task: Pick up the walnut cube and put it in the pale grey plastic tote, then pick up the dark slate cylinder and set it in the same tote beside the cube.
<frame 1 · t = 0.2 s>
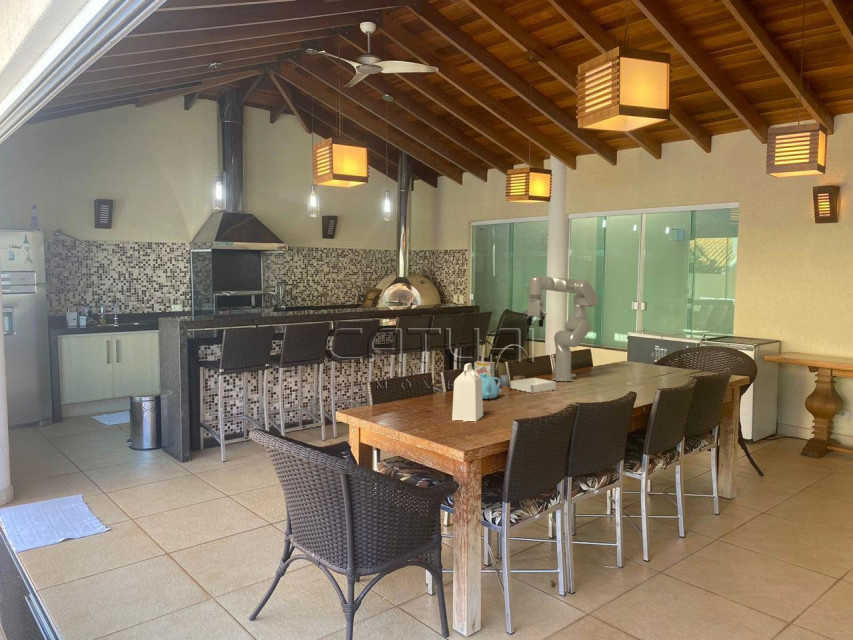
hand: (535, 326, 390), 36 cm above the table, tool pointing down, fingers open, 9 cm apart
slate cylinder: (504, 387, 386), on the table
milk: (467, 418, 305), on the table
walnut cube: (519, 384, 394), on the table
decorative pot: (483, 398, 353), on the table
candy bar box: (484, 390, 377), on the table
tote: (533, 390, 376), on the table
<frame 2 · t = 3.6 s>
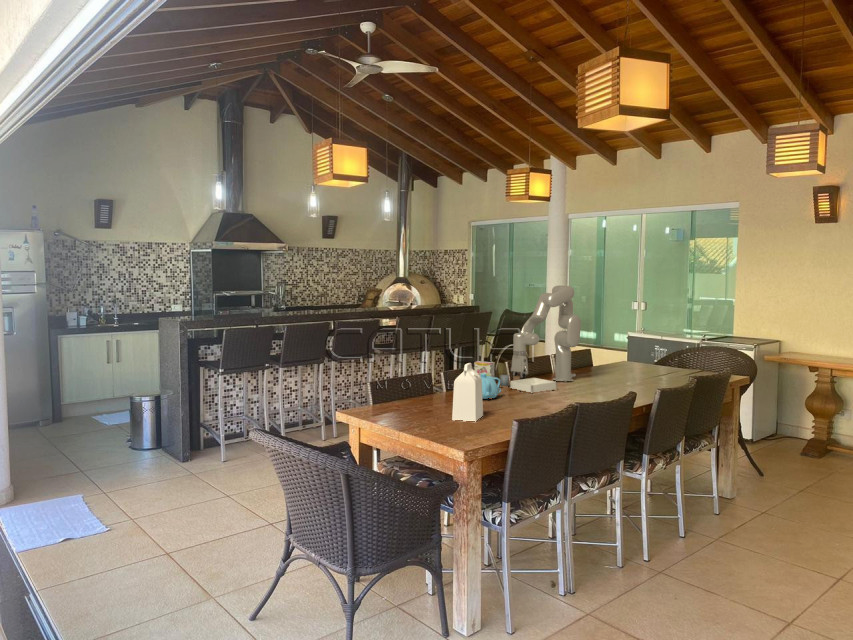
hand: (519, 382, 394), 1 cm above the table, tool pointing down, fingers closed on walnut cube, 5 cm apart
walnut cube: (519, 384, 394), on the table, touching gripper
everything else where it was.
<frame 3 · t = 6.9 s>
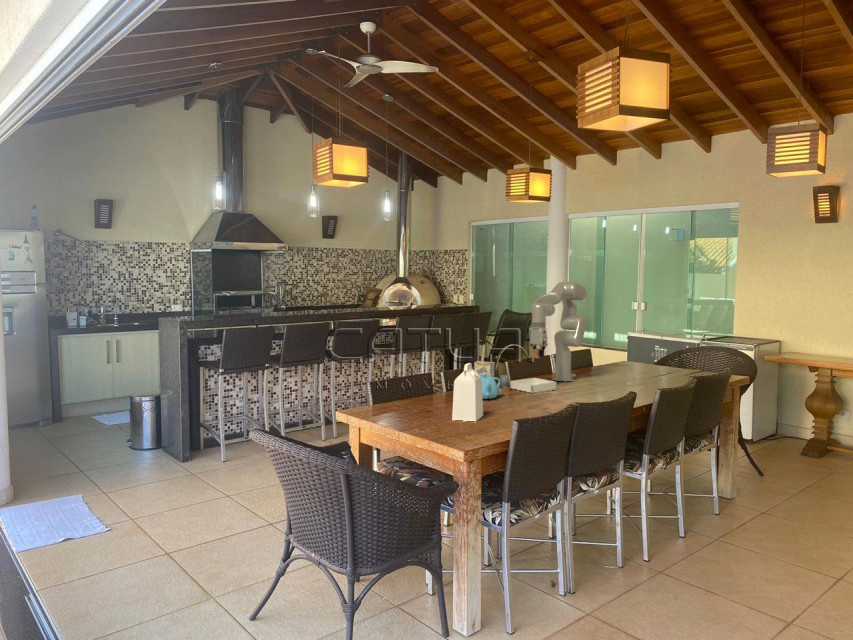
hand: (538, 355, 378), 20 cm above the table, tool pointing down, fingers closed on walnut cube, 4 cm apart
walnut cube: (537, 357, 378), point 18 cm above the table, touching gripper
everything else where it was.
when the fingers open (3 cm above the table, at t = 10.5 s): walnut cube drops 1 cm, resting on tote.
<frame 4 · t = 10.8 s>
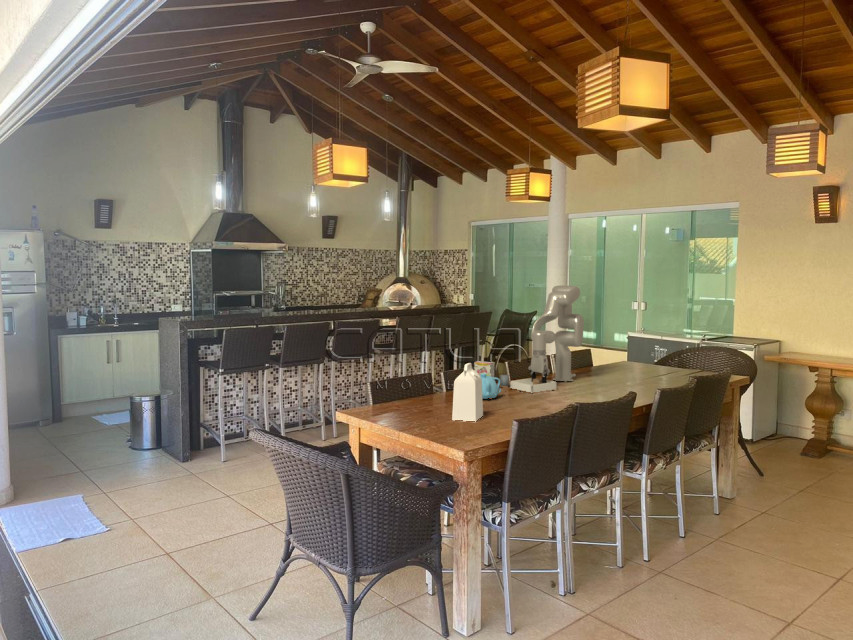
hand: (538, 382, 378), 4 cm above the table, tool pointing down, fingers open, 8 cm apart
walnut cube: (538, 387, 379), point 1 cm above the table, touching tote
everything else where it was.
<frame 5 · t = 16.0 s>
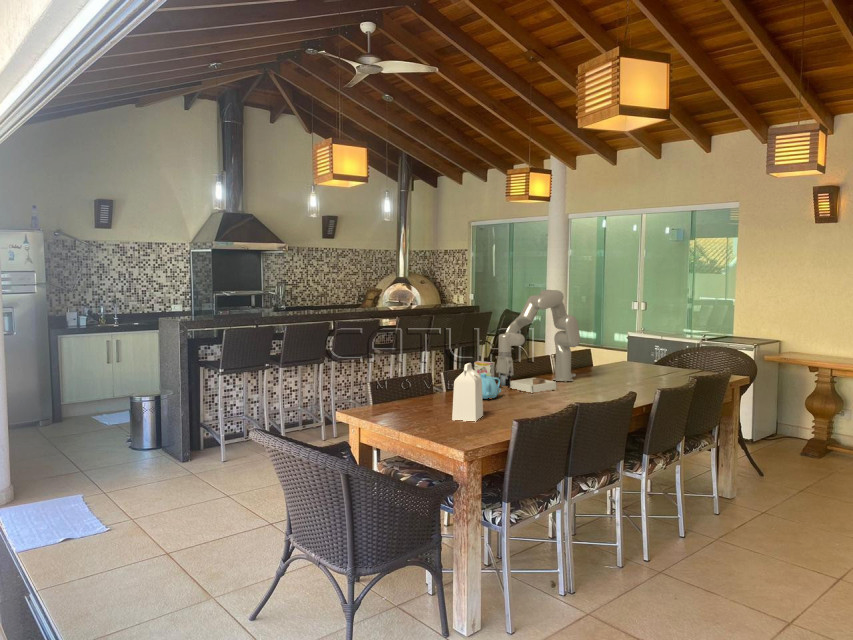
hand: (504, 384, 386), 1 cm above the table, tool pointing down, fingers closed on slate cylinder, 4 cm apart
slate cylinder: (504, 387, 386), on the table, touching gripper
everything else where it was.
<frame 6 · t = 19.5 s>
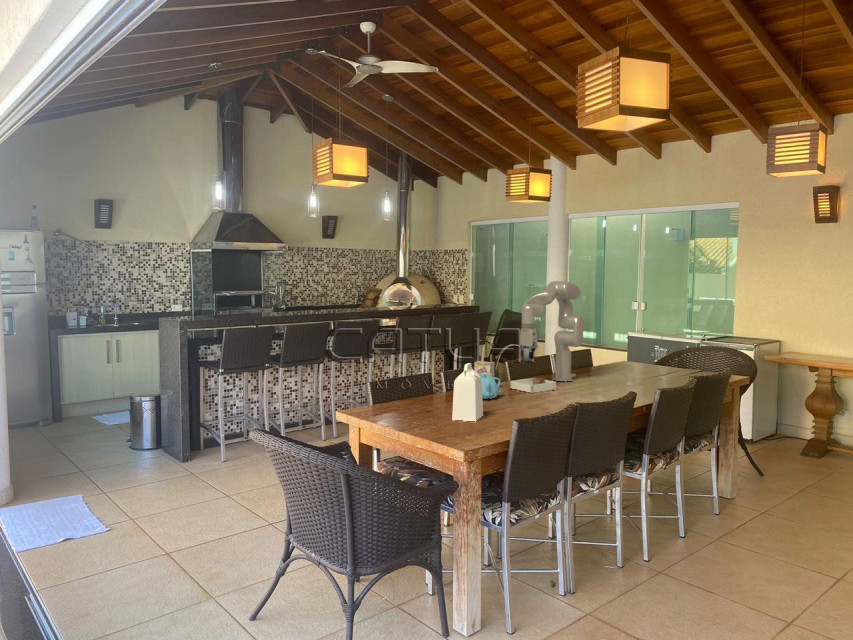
hand: (527, 357, 372), 19 cm above the table, tool pointing down, fingers closed on slate cylinder, 4 cm apart
slate cylinder: (527, 360, 372), point 18 cm above the table, touching gripper
everything else where it was.
when the fingers open (3 cm above the table, at t = 22.9 s): slate cylinder stays where it is, resting on tote.
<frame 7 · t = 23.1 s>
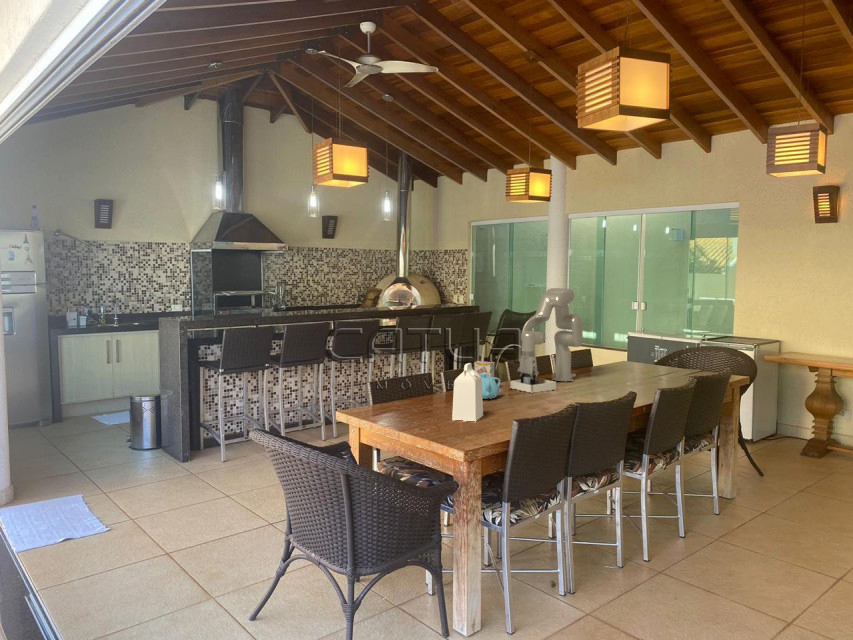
hand: (527, 384, 373), 4 cm above the table, tool pointing down, fingers open, 7 cm apart
slate cylinder: (527, 389, 373), point 1 cm above the table, touching tote
everything else where it was.
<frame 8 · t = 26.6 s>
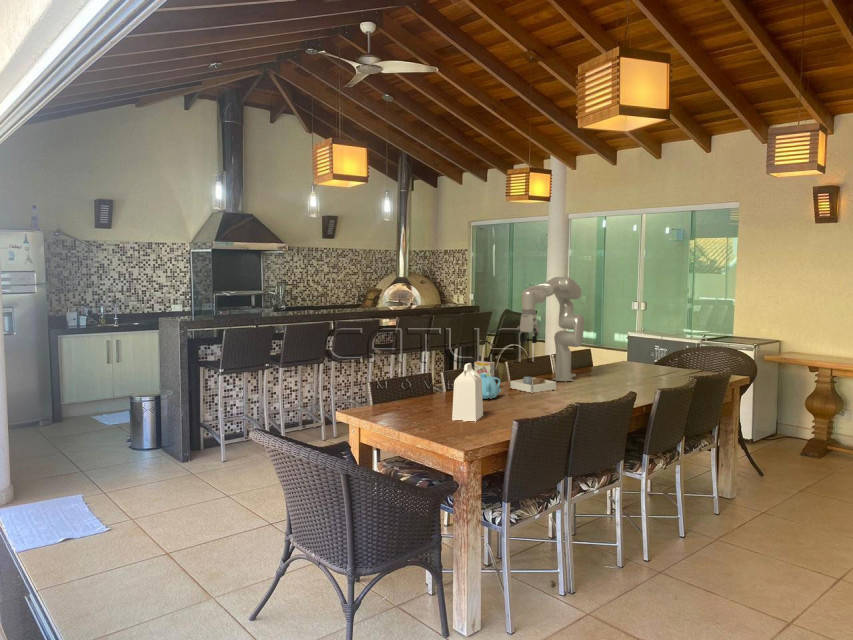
hand: (528, 342, 371), 28 cm above the table, tool pointing down, fingers open, 9 cm apart
nothing on the table moved.
at the end: walnut cube inside the target area on the tote (4.5 cm from its centre), point 1.0 cm above the tote's base; slate cylinder inside the target area on the tote (4.5 cm from its centre), point 1.0 cm above the tote's base; the gripper is holding nothing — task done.
